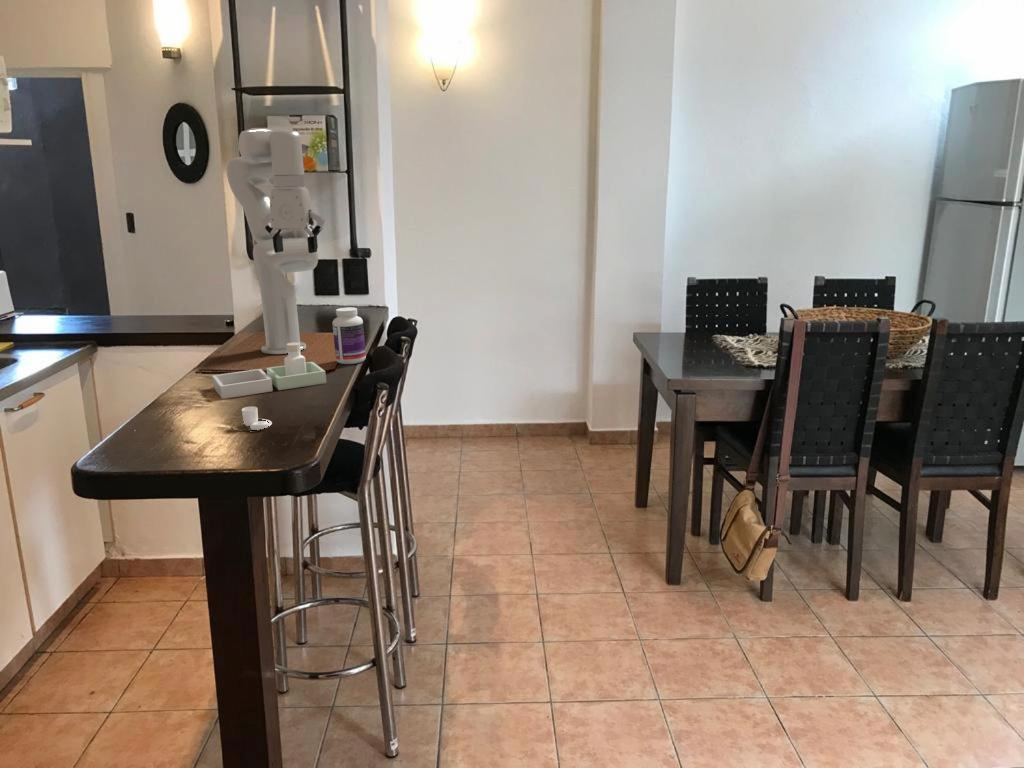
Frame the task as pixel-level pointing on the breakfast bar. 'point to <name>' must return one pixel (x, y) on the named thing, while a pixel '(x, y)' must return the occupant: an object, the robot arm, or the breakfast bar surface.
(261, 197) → the robot arm
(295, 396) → the breakfast bar surface
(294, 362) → the pepper shaker
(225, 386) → the grey bin
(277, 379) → the green bin
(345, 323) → the pill bottle
